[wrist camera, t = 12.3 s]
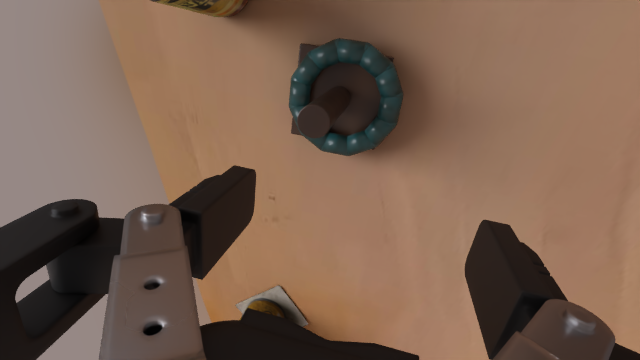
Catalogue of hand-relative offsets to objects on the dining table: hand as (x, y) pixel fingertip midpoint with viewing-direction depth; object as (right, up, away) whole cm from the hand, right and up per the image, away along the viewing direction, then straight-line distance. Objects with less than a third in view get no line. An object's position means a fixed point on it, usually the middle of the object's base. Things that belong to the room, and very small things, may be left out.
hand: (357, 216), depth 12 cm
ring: (+1, +9, +20) cm, 22 cm away
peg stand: (+1, +10, +22) cm, 25 cm away
